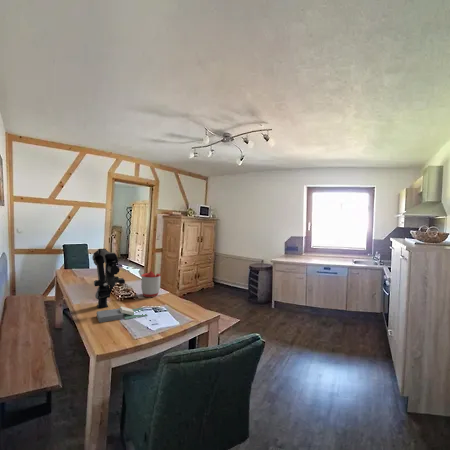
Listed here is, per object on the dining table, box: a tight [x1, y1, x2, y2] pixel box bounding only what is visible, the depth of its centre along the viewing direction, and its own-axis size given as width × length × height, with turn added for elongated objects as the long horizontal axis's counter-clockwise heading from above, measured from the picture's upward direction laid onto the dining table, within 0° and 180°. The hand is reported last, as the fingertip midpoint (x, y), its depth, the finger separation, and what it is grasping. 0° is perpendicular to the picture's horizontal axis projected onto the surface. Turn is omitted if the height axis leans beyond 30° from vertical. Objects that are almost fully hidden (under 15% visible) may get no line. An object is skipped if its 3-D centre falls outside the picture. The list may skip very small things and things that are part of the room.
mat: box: [123, 307, 148, 320], centre depth 185 cm, size 16×14×1 cm
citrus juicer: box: [140, 271, 162, 298], centre depth 228 cm, size 16×17×20 cm
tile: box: [119, 306, 134, 315], centre depth 182 cm, size 7×8×2 cm
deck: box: [96, 307, 124, 324], centre depth 177 cm, size 12×14×3 cm
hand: (109, 294), depth 185 cm, fingers closed
